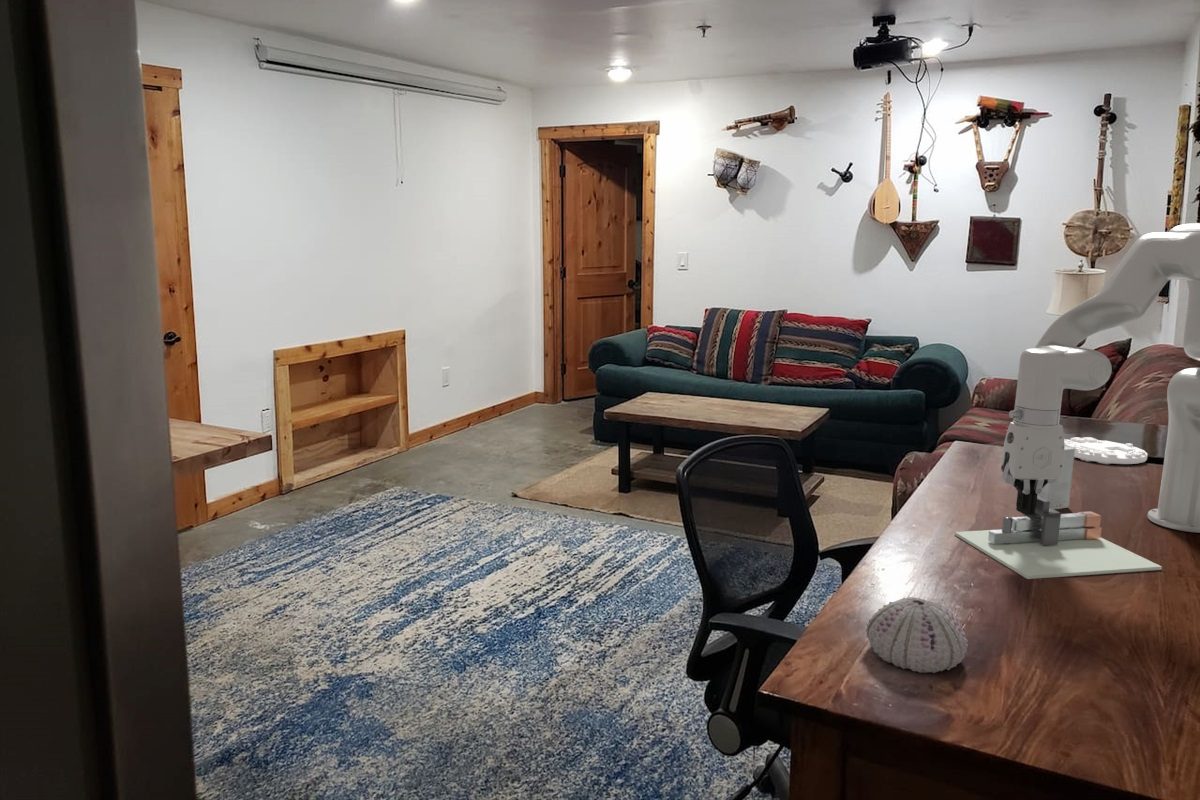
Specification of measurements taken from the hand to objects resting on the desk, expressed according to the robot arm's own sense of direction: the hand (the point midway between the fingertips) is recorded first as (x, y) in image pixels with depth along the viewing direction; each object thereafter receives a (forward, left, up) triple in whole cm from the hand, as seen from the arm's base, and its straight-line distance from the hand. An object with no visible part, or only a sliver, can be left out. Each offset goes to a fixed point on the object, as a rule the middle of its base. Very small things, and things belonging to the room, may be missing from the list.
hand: (1025, 512), depth 165 cm
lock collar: (-4, 0, -6) cm, 7 cm away
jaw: (-7, 0, -3) cm, 7 cm away
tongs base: (-5, 0, -6) cm, 8 cm away
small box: (-21, -22, -7) cm, 31 cm away
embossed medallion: (-64, -57, -7) cm, 86 cm away
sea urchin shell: (+42, +37, -7) cm, 57 cm away
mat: (-4, +4, -6) cm, 8 cm away
